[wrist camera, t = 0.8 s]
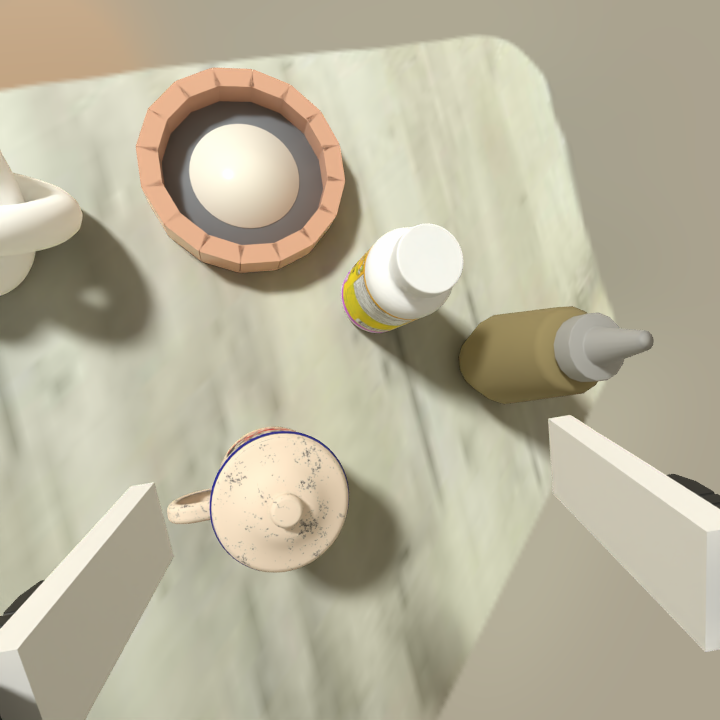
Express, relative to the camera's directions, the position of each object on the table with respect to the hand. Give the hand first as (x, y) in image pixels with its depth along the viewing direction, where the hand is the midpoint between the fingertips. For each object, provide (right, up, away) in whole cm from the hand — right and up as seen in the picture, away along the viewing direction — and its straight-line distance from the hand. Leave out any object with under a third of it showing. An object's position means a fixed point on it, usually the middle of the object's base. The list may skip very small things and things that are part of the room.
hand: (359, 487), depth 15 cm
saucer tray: (-10, +20, +24) cm, 33 cm away
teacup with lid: (-9, -6, +23) cm, 25 cm away
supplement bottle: (+1, +10, +27) cm, 29 cm away
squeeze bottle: (+12, +4, +29) cm, 32 cm away
